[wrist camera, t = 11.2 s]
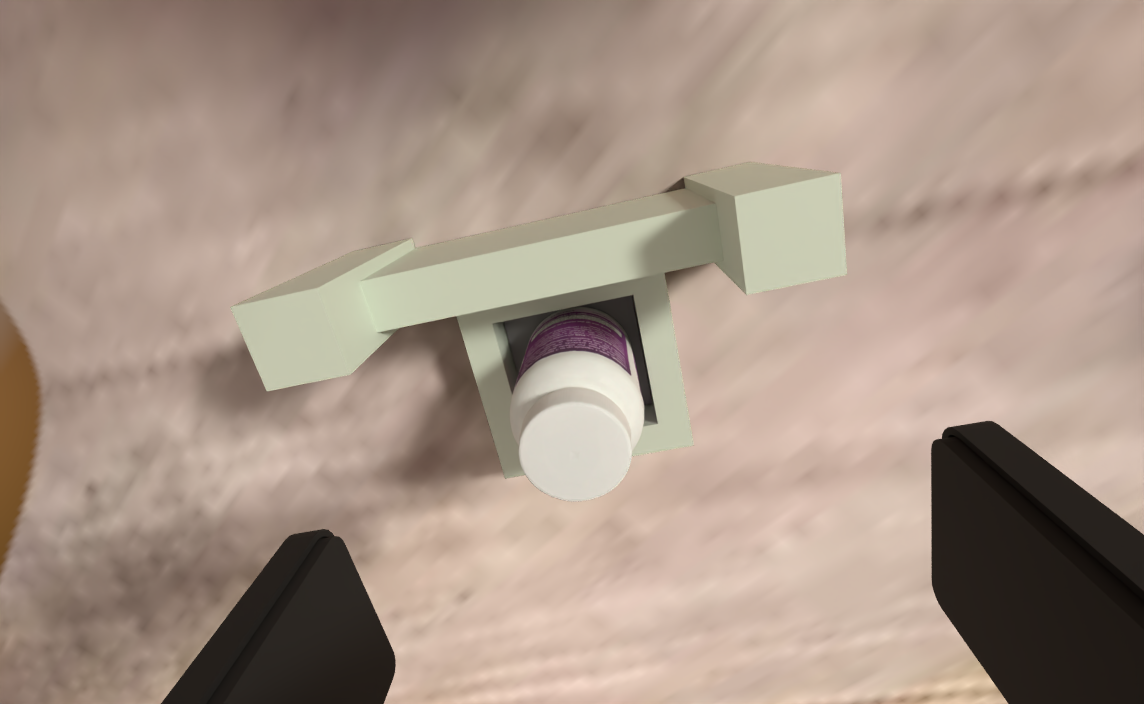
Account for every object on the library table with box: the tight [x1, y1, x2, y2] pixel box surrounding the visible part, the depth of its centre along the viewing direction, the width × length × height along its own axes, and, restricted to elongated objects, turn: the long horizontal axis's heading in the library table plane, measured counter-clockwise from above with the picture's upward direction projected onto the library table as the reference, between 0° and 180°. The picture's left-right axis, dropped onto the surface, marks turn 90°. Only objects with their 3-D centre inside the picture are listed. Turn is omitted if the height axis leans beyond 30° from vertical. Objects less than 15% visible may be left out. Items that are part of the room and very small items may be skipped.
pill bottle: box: [510, 307, 644, 501], centre depth 24 cm, size 5×5×10 cm
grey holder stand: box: [230, 162, 847, 479], centre depth 24 cm, size 12×19×10 cm, turn 103°
